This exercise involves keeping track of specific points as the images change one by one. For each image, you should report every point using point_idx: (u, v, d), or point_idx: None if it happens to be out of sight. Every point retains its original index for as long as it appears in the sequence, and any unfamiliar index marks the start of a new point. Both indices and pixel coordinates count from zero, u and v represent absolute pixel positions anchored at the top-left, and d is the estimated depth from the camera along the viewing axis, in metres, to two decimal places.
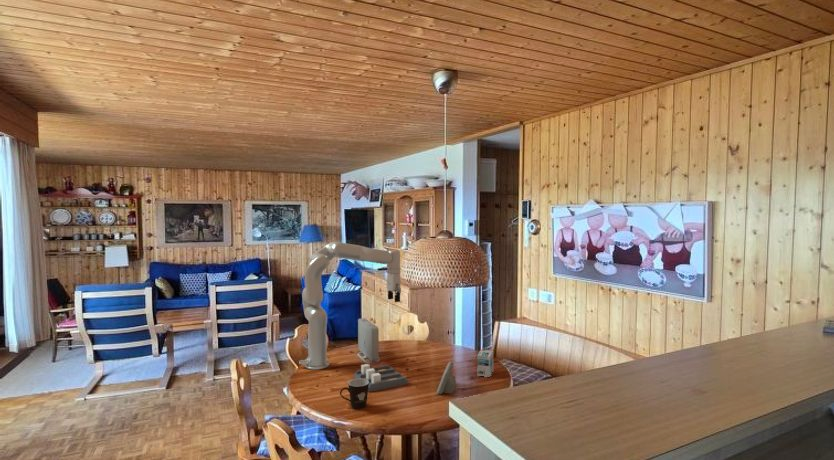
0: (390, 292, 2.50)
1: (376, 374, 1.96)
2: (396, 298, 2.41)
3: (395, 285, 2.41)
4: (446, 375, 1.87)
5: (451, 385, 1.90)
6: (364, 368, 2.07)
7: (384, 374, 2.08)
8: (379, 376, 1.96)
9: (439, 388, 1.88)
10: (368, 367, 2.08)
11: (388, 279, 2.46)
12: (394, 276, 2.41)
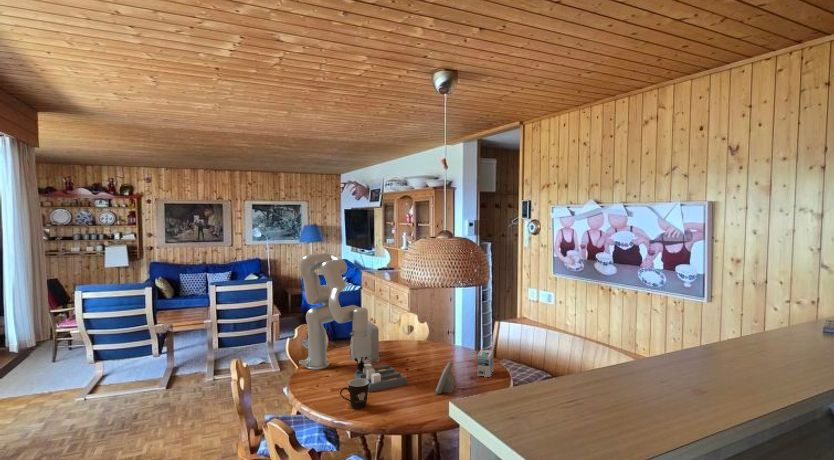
0: None
1: (376, 374, 1.96)
2: (363, 366, 2.07)
3: None
4: (445, 375, 1.87)
5: (450, 385, 1.91)
6: (366, 368, 2.08)
7: (384, 374, 2.08)
8: (379, 376, 1.96)
9: (438, 388, 1.88)
10: (370, 367, 2.08)
11: (359, 344, 2.04)
12: None
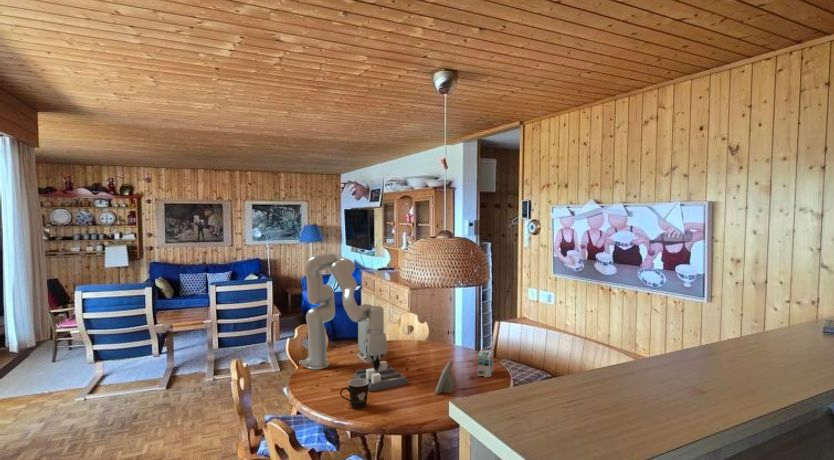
0: (376, 358, 2.11)
1: (376, 374, 1.96)
2: (378, 363, 2.11)
3: None
4: (444, 374, 1.88)
5: (450, 385, 1.91)
6: (382, 365, 2.11)
7: (384, 374, 2.08)
8: (379, 376, 1.96)
9: (437, 388, 1.89)
10: (385, 364, 2.12)
11: (375, 342, 2.08)
12: (385, 335, 2.12)
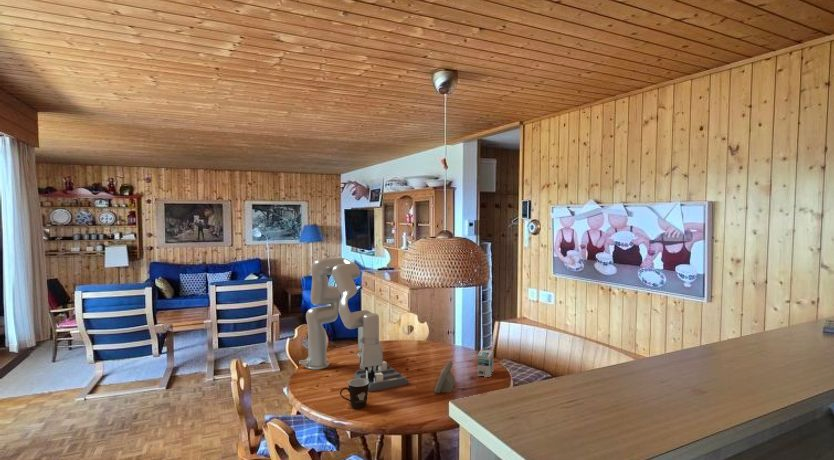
0: (370, 369, 1.95)
1: (378, 374, 1.97)
2: (373, 375, 1.95)
3: None
4: (443, 374, 1.88)
5: (449, 384, 1.91)
6: None
7: (384, 374, 2.08)
8: (381, 376, 1.96)
9: (436, 387, 1.89)
10: (385, 364, 2.12)
11: (370, 352, 1.92)
12: None
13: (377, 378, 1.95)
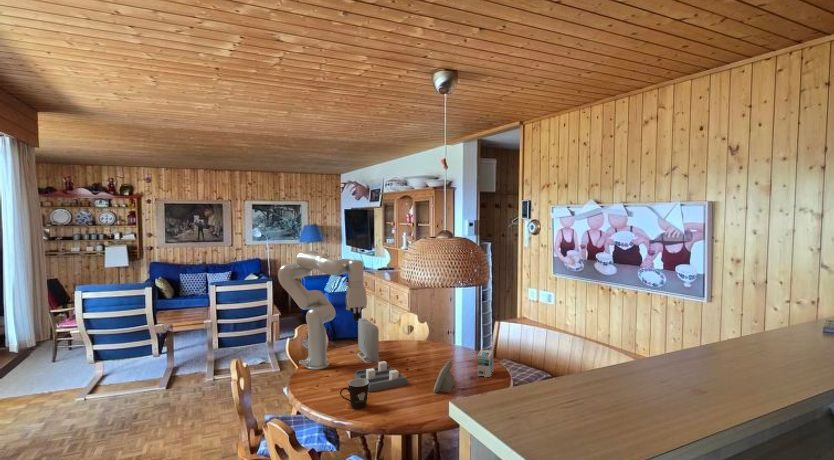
0: (356, 310, 2.14)
1: (394, 371, 2.01)
2: (358, 316, 2.14)
3: None
4: (442, 374, 1.89)
5: (448, 384, 1.91)
6: (381, 365, 2.11)
7: (384, 374, 2.08)
8: (397, 373, 2.00)
9: (435, 387, 1.90)
10: (385, 364, 2.12)
11: (355, 295, 2.11)
12: (365, 289, 2.15)
13: (392, 375, 1.99)
